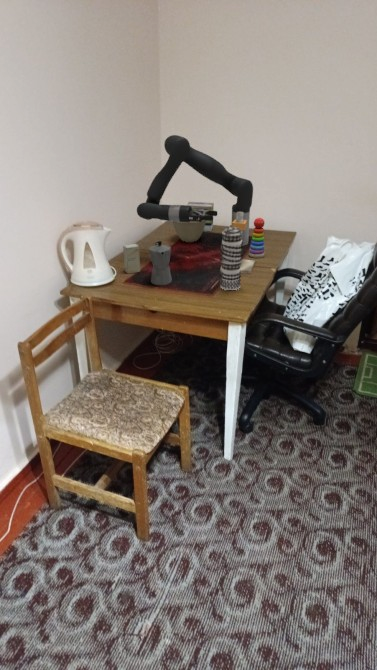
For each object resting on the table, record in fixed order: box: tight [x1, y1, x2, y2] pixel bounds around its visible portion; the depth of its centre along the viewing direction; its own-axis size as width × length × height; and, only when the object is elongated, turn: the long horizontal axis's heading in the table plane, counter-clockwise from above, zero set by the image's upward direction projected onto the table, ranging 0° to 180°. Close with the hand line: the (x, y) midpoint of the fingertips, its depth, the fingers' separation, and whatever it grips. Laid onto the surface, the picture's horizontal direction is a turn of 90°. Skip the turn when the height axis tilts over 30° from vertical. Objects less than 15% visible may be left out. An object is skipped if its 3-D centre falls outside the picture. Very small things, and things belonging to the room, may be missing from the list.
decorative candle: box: [219, 226, 244, 291], centre depth 186 cm, size 9×9×25 cm
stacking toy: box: [248, 217, 266, 259], centre depth 222 cm, size 8×8×19 cm
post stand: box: [219, 212, 256, 275], centre depth 206 cm, size 14×14×26 cm
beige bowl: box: [172, 220, 206, 243], centre depth 247 cm, size 18×18×12 cm
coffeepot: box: [148, 240, 173, 286], centre depth 195 cm, size 15×9×18 cm, turn 13°
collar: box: [231, 220, 247, 230], centre depth 203 cm, size 6×6×3 cm
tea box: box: [186, 201, 214, 233], centre depth 265 cm, size 15×10×15 cm, turn 80°
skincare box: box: [122, 243, 141, 274], centre depth 207 cm, size 6×4×12 cm
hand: (215, 215), depth 204 cm, fingers open, 8 cm apart
